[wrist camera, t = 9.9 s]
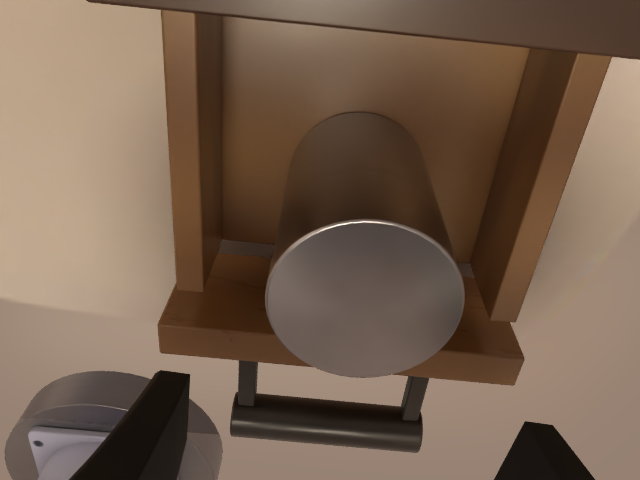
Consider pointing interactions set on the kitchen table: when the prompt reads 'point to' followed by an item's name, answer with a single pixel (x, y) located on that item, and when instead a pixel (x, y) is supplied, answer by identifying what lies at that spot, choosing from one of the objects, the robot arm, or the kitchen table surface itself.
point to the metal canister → (362, 253)
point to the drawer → (441, 163)
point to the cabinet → (449, 19)
